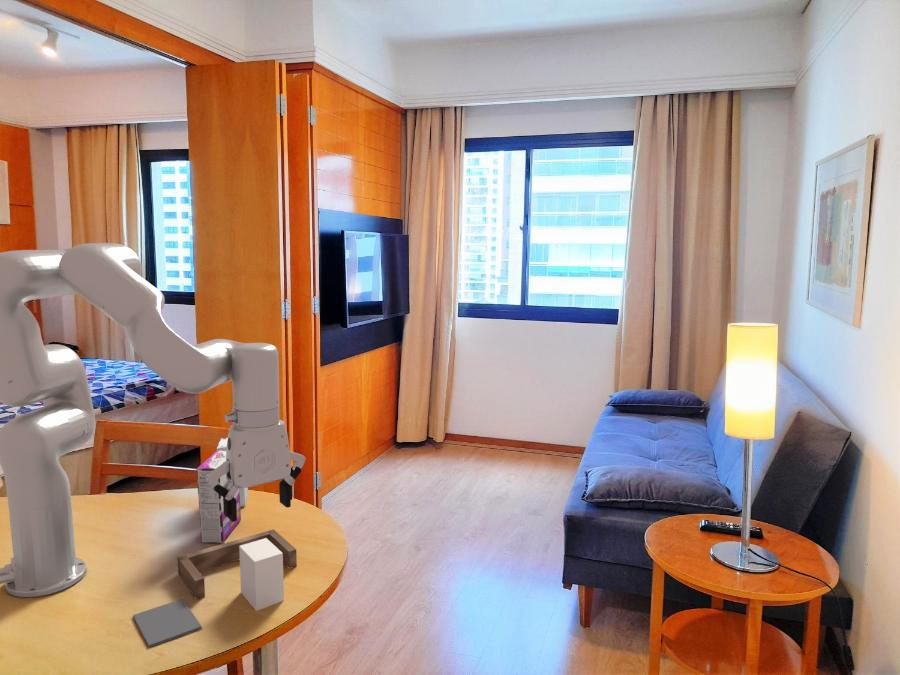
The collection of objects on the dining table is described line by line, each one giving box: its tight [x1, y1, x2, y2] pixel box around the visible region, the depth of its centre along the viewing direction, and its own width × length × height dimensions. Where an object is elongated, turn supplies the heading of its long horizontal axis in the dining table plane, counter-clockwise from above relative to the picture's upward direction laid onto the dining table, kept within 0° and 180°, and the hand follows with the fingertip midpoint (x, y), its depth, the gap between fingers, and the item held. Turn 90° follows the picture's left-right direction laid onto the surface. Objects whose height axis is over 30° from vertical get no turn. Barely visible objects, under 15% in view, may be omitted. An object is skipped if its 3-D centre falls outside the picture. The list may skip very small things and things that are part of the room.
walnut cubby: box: [176, 529, 298, 600], centre depth 122 cm, size 19×10×4 cm, turn 129°
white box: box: [239, 538, 285, 611], centre depth 113 cm, size 5×7×9 cm
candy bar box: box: [196, 450, 242, 544], centre depth 137 cm, size 11×5×16 cm, turn 179°
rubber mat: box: [132, 598, 203, 648], centre depth 106 cm, size 8×10×1 cm
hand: (259, 511), depth 111 cm, fingers open, 9 cm apart
